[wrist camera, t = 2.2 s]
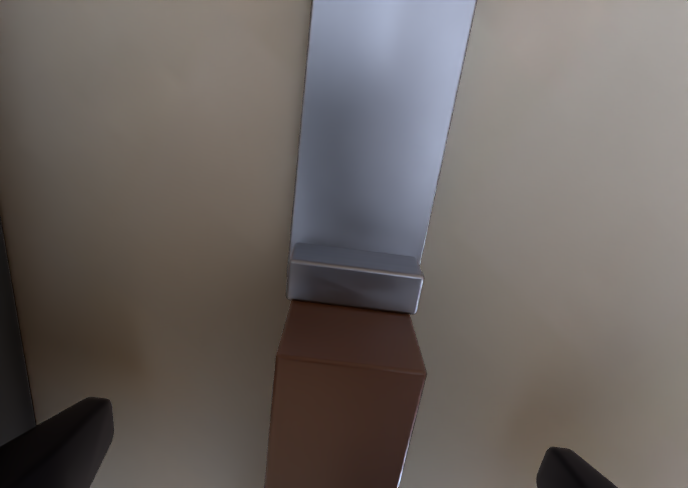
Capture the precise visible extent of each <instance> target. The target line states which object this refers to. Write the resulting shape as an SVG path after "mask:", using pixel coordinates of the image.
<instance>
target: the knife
mask: <svg viewBox="0 0 688 488" xmlns="http://www.w3.org/2000/svg"><path fill="white" fill-rule="evenodd" d="M476 4H477V0H312V4H311V15H310V26H309V37H308V48H307V59H306V69H305V80H304V91H303V102H302V113H301V124H300V135H299V146H298V157H297V168H296V179H295V190H294V201H293V212H292V223H291V234H290V245H289V256H288V266H287V285H286V298H287V299H289V300H291V302H290V306H289V310H288V313H287V317H286V321H285V324H284V328H283V331H282V335H281V339H280V342H279V346H278V350H277V353H276V358H275V370H274V381H273V392H272V404H271V415H270V427H269V438H268V449H267V461H266V472H265V484H264V488H399V485H400V481H401V477H402V473H403V469H404V465H405V461H406V457H407V453H408V449H409V445H410V441H411V436H412V432H413V428H414V424H415V420H416V416H417V412H418V408H419V404H420V400H421V396H422V392H423V388H424V384H425V380H426V376H427V372H426V368H425V365H424V362H423V358H422V355H421V351H420V348H419V345H418V341H417V338H416V334H415V331H414V327H413V324H412V321H411V317H410V314H416V312H417V309H418V304H419V300H420V295H421V291H422V286H423V282H424V275H423V273H422V271H421V269H420V264H421V259H422V254H423V250H424V245H425V241H426V236H427V231H428V227H429V222H430V217H431V213H432V208H433V203H434V199H435V194H436V189H437V185H438V180H439V176H440V171H441V166H442V162H443V157H444V152H445V148H446V143H447V138H448V134H449V129H450V124H451V120H452V115H453V111H454V106H455V101H456V97H457V92H458V87H459V83H460V78H461V73H462V69H463V64H464V59H465V55H466V50H467V46H468V41H469V36H470V32H471V27H472V22H473V18H474V13H475V8H476Z"/></svg>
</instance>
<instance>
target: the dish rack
mask: <svg viewBox="0 0 688 488" xmlns="http://www.w3.org/2000/svg"><path fill="white" fill-rule="evenodd" d="M34 427H36V424H35V418H34V412H33V406H32V400H31V394H30V388H29V383H28V377H27V371H26V365H25V359H24V353H23V347H22V341H21V335H20V329H19V324H18V318H17V312H16V306H15V300H14V294H13V288H12V282H11V276H10V270H9V265H8V259H7V253H6V247H5V241H4V235H3V229H2V223H1V217H0V446H2V445H4V444H5V443H7V442H9V441H11V440H13V439H14V438H16V437H18V436H20V435H21V434H23V433H25V432H27V431H28V430H30V429H32V428H34Z"/></svg>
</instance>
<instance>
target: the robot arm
mask: <svg viewBox="0 0 688 488" xmlns="http://www.w3.org/2000/svg"><path fill="white" fill-rule="evenodd" d="M113 435H114V422H113V411H112V403H111V401H110V400H109V399H106V398H96V397H88V398H86V399H83V400H82V401H80V402H78V403H76V404H75V405H73V406H71V407H69V408H67V409H66V410H64V411H62V412H60V413H59V414H57V415H55V416H53V417H52V418H50V419H48V420H46V421H44V422H43V423H41V424H39V425H37V426H36V427H34V428H32V429H30V430H28V431H27V432H25V433H23V434H21V435H20V436H18V437H16V438H14V439H13V440H11V441H9V442H7V443H5V444H4V445H2V446H0V488H89V487H90V485H91V483H92V481H93V479H94V477H95V475H96V473H97V471H98V469H99V467H100V465H101V463H102V461H103V459H104V457H105V455H106V453H107V450H108V448H109V446H110V444H111V442H112V439H113ZM536 483H537V488H618V487H616V486H615V485H614V484H613V483H612V482H610V481H609V480H608V479H607V478H605V477H604V476H603V475H602V474H601V473H599V472H598V471H597V470H596V469H594V468H593V467H592V466H591V465H590V464H588V463H587V462H586V461H585V460H583V459H582V458H581V457H580V456H579V455H577V454H576V453H575V452H574V451H572V450H570V449H568V448H560V447H550V448H549V449H547V451H546V453H545V456H544V458H543V461H542V463H541V465H540V468H539V470H538V473H537V478H536Z"/></svg>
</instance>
